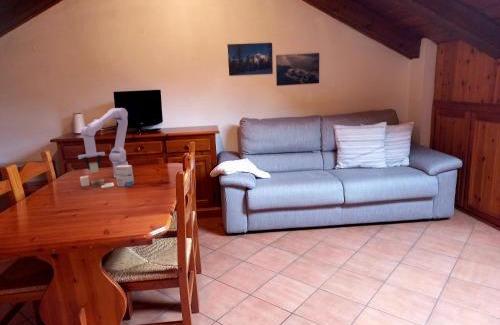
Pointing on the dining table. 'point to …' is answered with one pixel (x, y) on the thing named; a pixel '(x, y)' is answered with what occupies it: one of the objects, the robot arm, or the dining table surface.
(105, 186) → the tile
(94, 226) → the dining table surface
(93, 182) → the walnut slab
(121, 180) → the ink box
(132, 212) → the dining table surface
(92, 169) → the sage block
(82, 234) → the dining table surface
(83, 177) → the cream block
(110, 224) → the dining table surface
